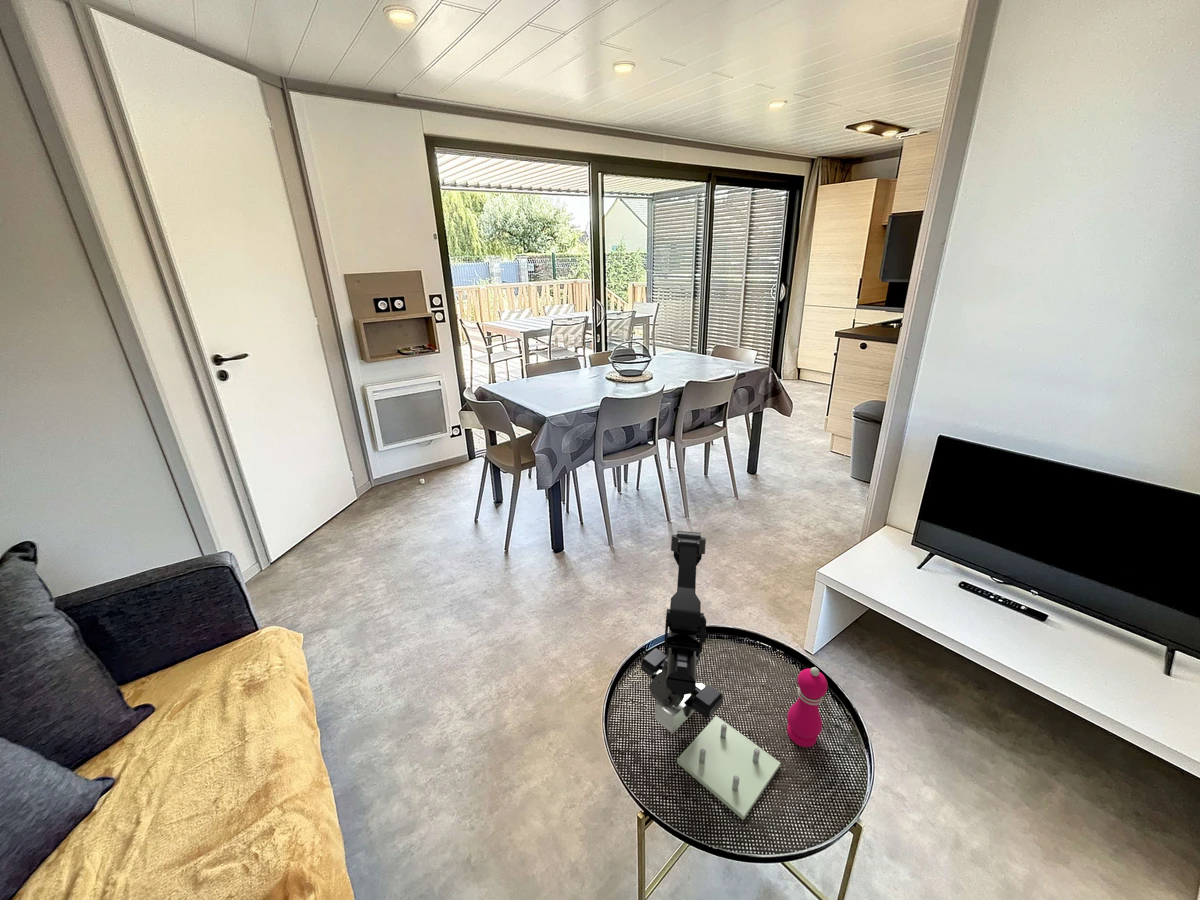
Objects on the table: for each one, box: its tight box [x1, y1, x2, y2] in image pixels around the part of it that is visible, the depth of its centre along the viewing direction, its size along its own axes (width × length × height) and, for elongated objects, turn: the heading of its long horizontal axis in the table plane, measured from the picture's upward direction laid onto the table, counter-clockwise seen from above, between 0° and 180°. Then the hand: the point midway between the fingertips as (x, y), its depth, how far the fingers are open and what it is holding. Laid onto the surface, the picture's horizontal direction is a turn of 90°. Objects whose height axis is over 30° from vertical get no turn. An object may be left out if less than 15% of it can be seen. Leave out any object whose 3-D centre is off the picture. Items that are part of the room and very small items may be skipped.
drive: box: [654, 694, 695, 735], centre depth 108 cm, size 10×5×5 cm, turn 134°
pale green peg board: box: [676, 715, 781, 821], centre depth 102 cm, size 16×15×4 cm
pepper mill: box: [786, 666, 829, 748], centre depth 105 cm, size 7×7×20 cm
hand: (678, 708), depth 108 cm, fingers closed on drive, 5 cm apart
